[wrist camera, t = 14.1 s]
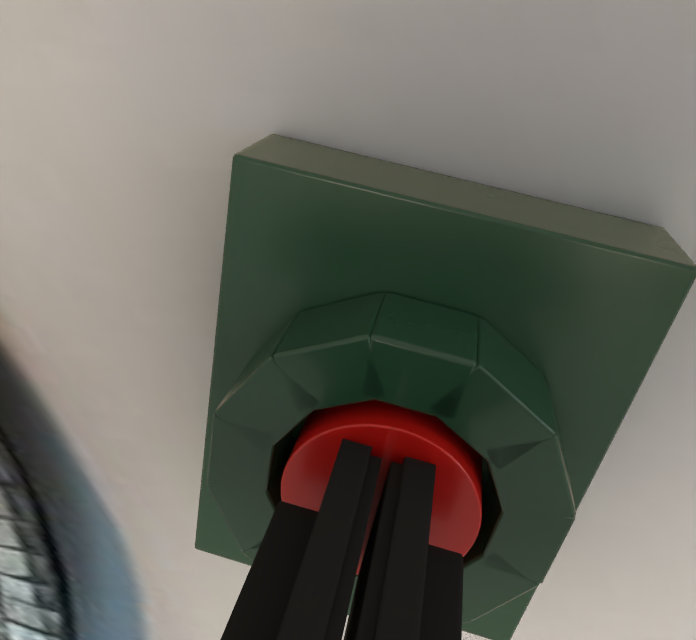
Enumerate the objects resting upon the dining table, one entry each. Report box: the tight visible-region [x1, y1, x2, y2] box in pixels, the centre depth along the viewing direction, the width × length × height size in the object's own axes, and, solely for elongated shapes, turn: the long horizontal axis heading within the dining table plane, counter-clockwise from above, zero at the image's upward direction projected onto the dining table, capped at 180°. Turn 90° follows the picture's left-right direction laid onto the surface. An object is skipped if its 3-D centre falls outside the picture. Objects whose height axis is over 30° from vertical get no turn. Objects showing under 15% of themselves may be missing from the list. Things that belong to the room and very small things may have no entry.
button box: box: [195, 134, 696, 640], centre depth 13 cm, size 10×8×4 cm
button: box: [281, 400, 482, 575], centre depth 11 cm, size 4×4×2 cm
